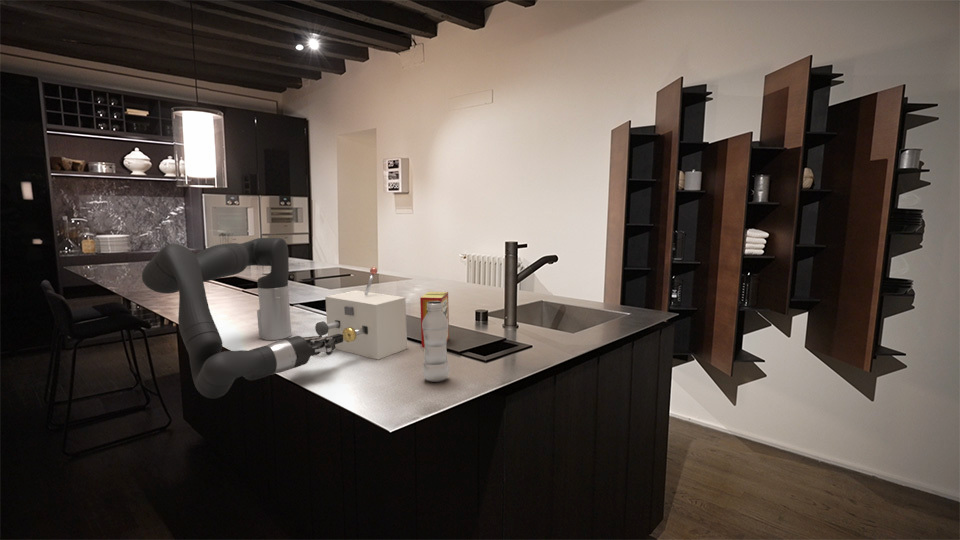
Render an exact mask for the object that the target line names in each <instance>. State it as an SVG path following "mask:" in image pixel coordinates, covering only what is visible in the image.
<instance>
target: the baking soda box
mask: <svg viewBox="0 0 960 540" xmlns="http://www.w3.org/2000/svg"><path fill="white" fill-rule="evenodd" d="M419 299H420V301H419V303H420V335H421V348H425V344H424V335H423V328H422V322H423V319H424V318H425V316H426V314H427V313H428V311H427V302H430V301H440V302H442V307H443V310H441V311H442V313H443V314H444V315H445V317H446V318H447V320H448V332H447V340H448V339H449V340H450V323H449V321H450V317H449V315H450V313H449V310H450V309H449V291H427V292H426V293H425V294H423V295H422V296H421V297H420V298H419ZM449 340H448V341H449Z"/></svg>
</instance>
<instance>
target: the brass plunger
mask: <svg viewBox="0 0 960 540" xmlns="http://www.w3.org/2000/svg"><path fill="white" fill-rule="evenodd" d="M366 332H368V328H367V327H364V328H360V329H357V330H354V329H353V328H352V327H348V328H345V329H344V330H343V333H342V335H343V338H344V340H345V341H346V342H352V341H354V340H355V339H356V335H360V334H363V333H366Z"/></svg>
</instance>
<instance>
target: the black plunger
mask: <svg viewBox="0 0 960 540" xmlns="http://www.w3.org/2000/svg"><path fill="white" fill-rule="evenodd" d="M339 326H340V322H339V321H338V322H334V323H330V324H327V321H323V320H322V321H319V322H316V324H315V326H314V327H315V332H316V334H317V336H322V337H323V336H324V335H325V336H327V335H328V330H329V329H332V328H336V327H339Z"/></svg>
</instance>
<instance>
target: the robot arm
mask: <svg viewBox="0 0 960 540" xmlns="http://www.w3.org/2000/svg"><path fill="white" fill-rule="evenodd" d="M289 262H290V261H289V247H288V243H287V242H286V240H285V239H284V238H281V237H258V238H255V239H251V240H249V241H246V242H243V243H239V242H238V243H237V242H230V243H220V244H215V245H212V246H209V247H208V248H205V249H203V250H200V251H199V252H198V253H196V254H194V252H193V251H192V250H191V249H189V248H188V247H186V246H184V245H182V244H178V243H169V244H167V245H165V246H163V247H162V248H161V249H160V250H159V251H158V252H157V253H156V254H155V255H154V256H153V257H152V258H151V260H149V261H148V262H147V263H146V265H145V266H144V268H143V270H142V273H141V281H142V282H143V284H144V285H145V286H146V287H147V288H148V289H150V290H152V291H153V292H157V293H160V294H167V295H168V294H169V295H170V294H175V293H178V294H179V300H178V316H177V317H178V320H177V322H178V330H179V333H180V336H181V339H182V340H183V344H184V346H185V348H186V351H187V353H188V357H189V365H190V366H189V367H190V369H191V370H190V371H191V375H192V376H191V377H192V381H193V384H194V387H195V388H196V390H197V392H198V393H200V395H201V396H203V397H205V398H207V399H211V400H212V399H219V398H221V397H223V396H225V395H226V394H227V393H228V392H229V390H230V388H231V387H232V385H233V383H234V382H235V380H237V379H238V378H241V377H243V378H244V379H245V380H248V381H254V380H255V381H256V380H259V379H263V378H265V377H268V376H271V375H275V374H280V373H284V372H287V371H289V370H292V369H296V368H298V367H301V366H304V365H307V363H308V362H309V361H310V359H311V357H315V356H316V357H317V356H318V355H319V354H321V353H325V354H326V356H330V355H332V353H333V352H334V351H335V350H336V349H335V348H336V347H335V344H338V343H341V342H343V335H342V334H336V335H332V336H329V337H328V335H325V336H323V335H322V336H319V335H314V336H301V335H295V336H292V323H291V319H292V318H291V307H290V295H289V276H290V275H289V273H290V272H289V271H290V270H289V269H290V268H289ZM248 266H249V267H251V266H253V267H254V266H260V267H270V268H271V269H270V273H268V274H267V275H264V276H260V277H259V278H258V279H257V291H258V292H257V293H258V304H259V309H258V310H256V315H257V317H256V318H257V326H258V327H257V329H258V338H259V339H262V340H265V341H273V342H270V343H268V344H266V345H263V346H260V347H256V348H252V349H249V350H244V349H243V350H240V349H239V350H226V351H225V350H224V351H222V349H223V340H222V337H221V334H220V332H219V329H218V327H217V325H216V323H215V320H214V318H213V315H212V313H211V310H210V307H209V302H208V299H207V293H206V289H205V283H206V282H208V281H209V282H210V281H214V280H216V279H222V278H227V277H230V276H234V275H237V274H240V273H242V272H243V271H244V270H245V269H246V268H247V267H248Z"/></svg>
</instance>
